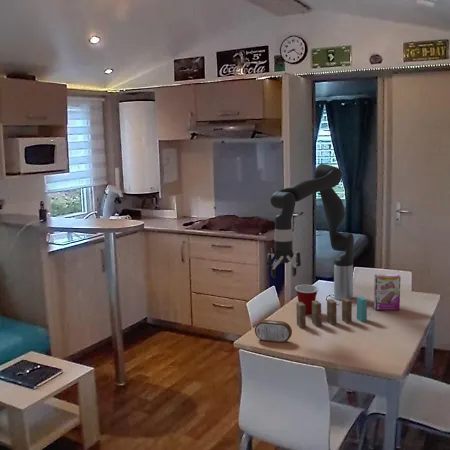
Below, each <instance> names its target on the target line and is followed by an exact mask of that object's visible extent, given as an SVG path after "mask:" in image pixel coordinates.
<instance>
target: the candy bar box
mask: <svg viewBox="0 0 450 450" xmlns="http://www.w3.org/2000/svg"><path fill="white" fill-rule="evenodd" d="M373 290H374V295H373V299H374V301H373V308H374V310H375V311H400V309H401V308H400V307H401V306H400V305H401V303H400V302H401V275H400V274H398V273H397V274H395V273H394V274H393V273H392V274H391V273H388V274H387V273H384V274H381V273H379V274H378V273H375V274H374V289H373Z"/></svg>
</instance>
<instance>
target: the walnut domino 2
mask: <svg viewBox="0 0 450 450" xmlns="http://www.w3.org/2000/svg"><path fill="white" fill-rule="evenodd" d="M311 323H312V324H313V325H314V326H315V327H322V303H321V302H319V301H318V300H315V301H312V313H311Z"/></svg>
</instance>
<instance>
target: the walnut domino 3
mask: <svg viewBox="0 0 450 450" xmlns="http://www.w3.org/2000/svg"><path fill="white" fill-rule="evenodd" d="M337 312H338V311H337V301H336V300H334V299H332V298H331V299H329V298H328V299H326V322H327V323H328V324H330V325H331V326H336V325H337V323H338V322H337V319H338V318H337V316H338V315H337Z"/></svg>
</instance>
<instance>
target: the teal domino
mask: <svg viewBox="0 0 450 450" xmlns="http://www.w3.org/2000/svg"><path fill="white" fill-rule="evenodd" d="M356 319H357V320H358V321H360V322H361V323H366V322H367V320H368V299H366V298H365V297H364V296H356Z"/></svg>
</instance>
